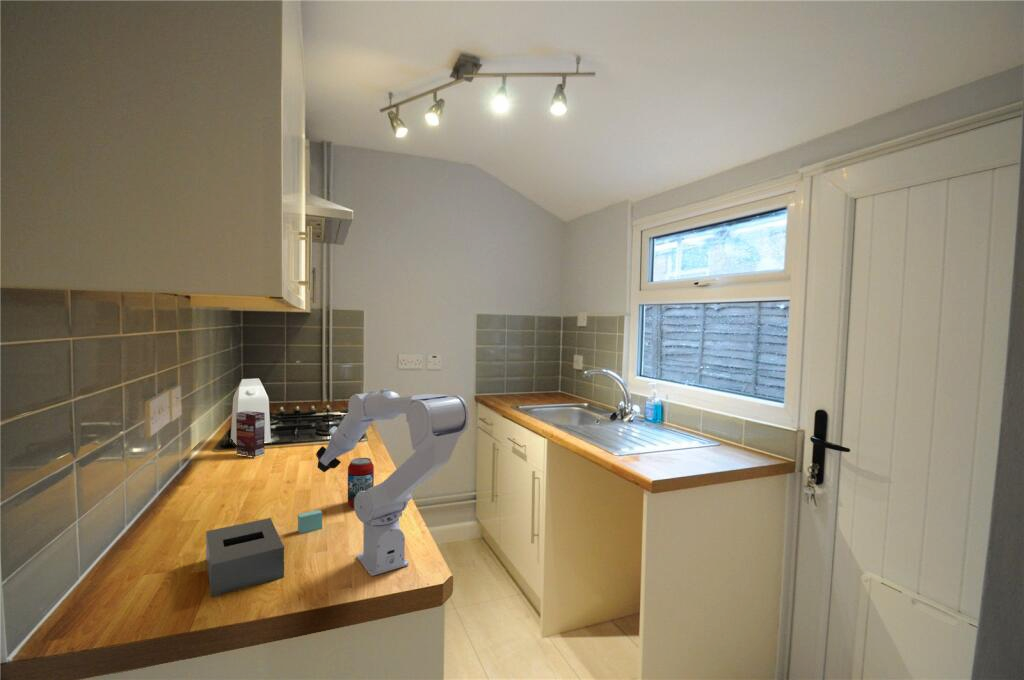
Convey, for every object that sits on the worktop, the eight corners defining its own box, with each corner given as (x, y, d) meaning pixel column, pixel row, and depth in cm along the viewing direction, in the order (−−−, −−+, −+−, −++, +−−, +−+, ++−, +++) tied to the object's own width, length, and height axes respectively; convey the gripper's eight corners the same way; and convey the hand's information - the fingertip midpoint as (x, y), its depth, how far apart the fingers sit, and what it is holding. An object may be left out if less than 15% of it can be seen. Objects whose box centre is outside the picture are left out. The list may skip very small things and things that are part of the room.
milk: (264, 439, 193) (263, 376, 192) (271, 445, 184) (270, 379, 183) (230, 443, 185) (230, 378, 184) (236, 450, 176) (235, 381, 175)
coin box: (284, 577, 91) (284, 547, 91) (211, 597, 84) (210, 564, 84) (270, 544, 104) (270, 517, 104) (206, 559, 97) (206, 531, 97)
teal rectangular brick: (322, 528, 113) (322, 512, 112) (299, 534, 110) (299, 517, 110) (320, 525, 114) (320, 509, 114) (298, 530, 111) (298, 514, 111)
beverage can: (346, 509, 124) (346, 465, 123) (348, 500, 130) (348, 457, 130) (373, 507, 126) (373, 463, 125) (373, 498, 132) (374, 456, 132)
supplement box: (235, 456, 168) (235, 412, 168) (246, 452, 173) (246, 410, 172) (254, 458, 166) (254, 414, 165) (265, 455, 171) (265, 412, 170)
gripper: (356, 399, 112) (337, 429, 120) (317, 437, 100) (298, 468, 107) (380, 418, 113) (358, 446, 120) (343, 457, 100) (322, 487, 108)
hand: (331, 458), depth 114 cm, fingers open, 7 cm apart
